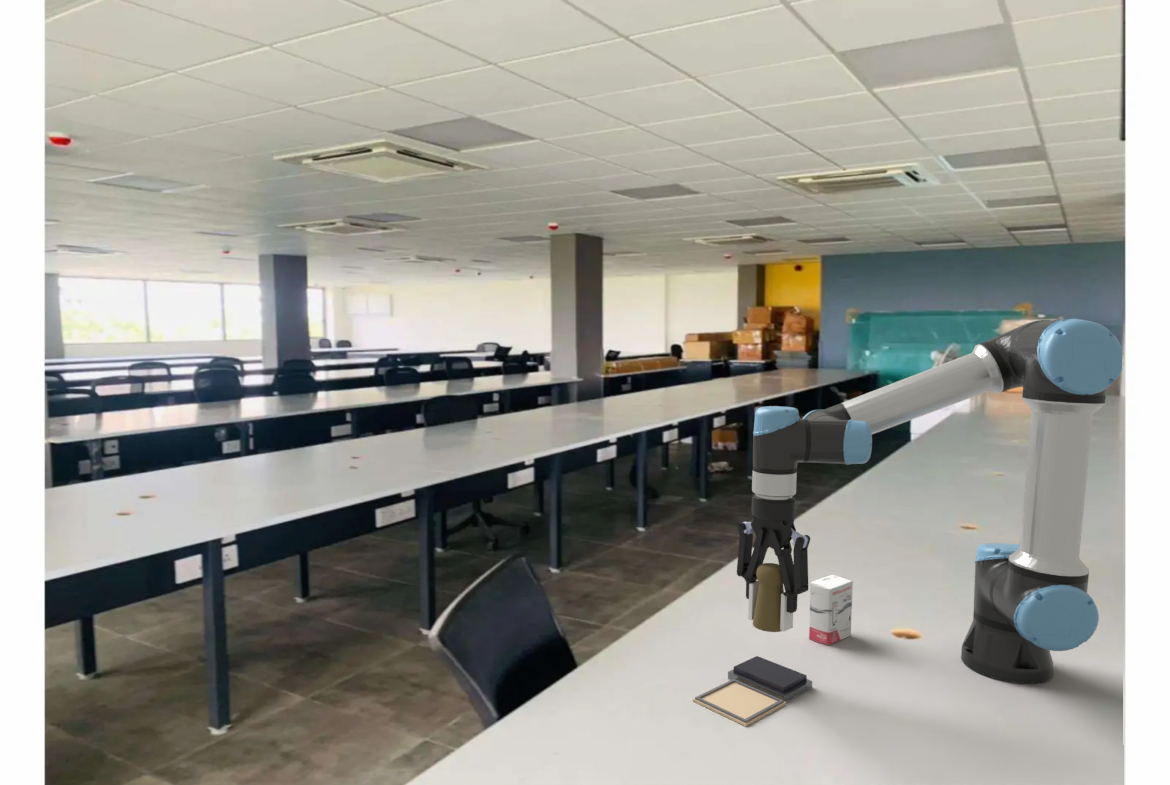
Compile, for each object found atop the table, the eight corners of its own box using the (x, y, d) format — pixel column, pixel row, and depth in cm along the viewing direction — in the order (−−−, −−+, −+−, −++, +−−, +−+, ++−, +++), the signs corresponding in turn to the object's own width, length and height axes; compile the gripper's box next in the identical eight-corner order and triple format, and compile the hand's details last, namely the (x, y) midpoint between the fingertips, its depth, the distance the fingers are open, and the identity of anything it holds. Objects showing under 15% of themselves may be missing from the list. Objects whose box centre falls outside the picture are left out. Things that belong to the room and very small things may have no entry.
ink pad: (812, 687, 135) (812, 675, 135) (784, 702, 129) (784, 690, 129) (755, 664, 144) (756, 653, 144) (727, 678, 138) (728, 666, 138)
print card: (785, 704, 129) (786, 700, 129) (745, 726, 121) (745, 722, 121) (733, 681, 137) (733, 677, 137) (692, 701, 130) (693, 697, 130)
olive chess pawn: (781, 618, 139) (783, 559, 138) (792, 631, 133) (793, 570, 132) (748, 619, 139) (750, 559, 138) (757, 632, 132) (759, 570, 132)
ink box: (828, 646, 152) (830, 588, 151) (807, 638, 156) (808, 582, 155) (852, 635, 158) (854, 579, 157) (831, 628, 162) (832, 573, 161)
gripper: (834, 501, 129) (829, 634, 131) (743, 483, 143) (739, 603, 145) (809, 508, 124) (805, 645, 126) (717, 488, 138) (714, 613, 140)
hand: (770, 623), depth 136 cm, fingers closed on olive chess pawn, 6 cm apart
